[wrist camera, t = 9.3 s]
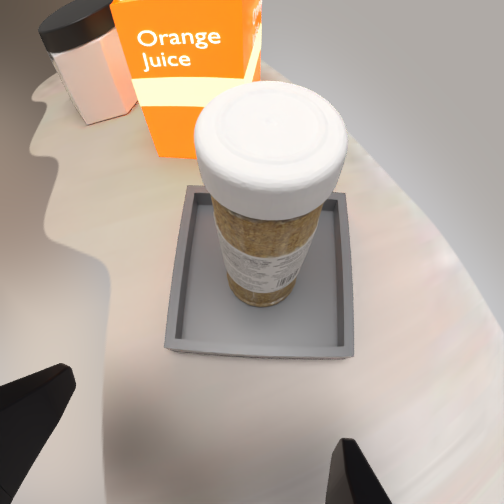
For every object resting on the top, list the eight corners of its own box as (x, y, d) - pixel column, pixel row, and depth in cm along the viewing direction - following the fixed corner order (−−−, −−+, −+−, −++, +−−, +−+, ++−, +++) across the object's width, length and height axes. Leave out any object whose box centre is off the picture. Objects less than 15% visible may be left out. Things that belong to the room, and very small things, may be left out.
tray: (343, 359, 19) (354, 356, 17) (173, 351, 19) (163, 347, 17) (338, 208, 23) (345, 193, 21) (192, 201, 24) (187, 185, 22)
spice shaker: (271, 231, 22) (289, 62, 10) (309, 285, 21) (383, 144, 8) (213, 265, 21) (166, 107, 9) (250, 323, 20) (245, 216, 7)
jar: (162, 94, 29) (137, -6, 18) (93, 136, 27) (46, 40, 16) (127, 66, 32) (103, -15, 20) (69, 102, 29) (31, 23, 18)
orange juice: (157, 157, 26) (87, -70, 7) (184, 92, 29) (153, -91, 10) (248, 164, 25) (244, -98, 7) (261, 96, 28) (266, -101, 10)
